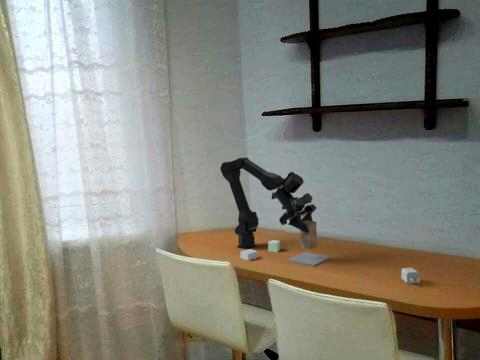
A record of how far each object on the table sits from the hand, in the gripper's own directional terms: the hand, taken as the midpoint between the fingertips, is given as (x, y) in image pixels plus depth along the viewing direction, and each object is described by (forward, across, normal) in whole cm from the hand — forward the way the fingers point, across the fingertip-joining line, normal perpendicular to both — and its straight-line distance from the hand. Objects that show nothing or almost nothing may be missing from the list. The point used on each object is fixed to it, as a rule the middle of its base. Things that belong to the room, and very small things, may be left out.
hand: (311, 231), depth 170 cm
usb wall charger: (+36, -2, -20) cm, 42 cm away
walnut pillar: (+4, 0, +6) cm, 7 cm away
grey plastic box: (-7, -12, +24) cm, 28 cm away
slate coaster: (+7, 0, +9) cm, 12 cm away
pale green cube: (-6, +2, +23) cm, 24 cm away
